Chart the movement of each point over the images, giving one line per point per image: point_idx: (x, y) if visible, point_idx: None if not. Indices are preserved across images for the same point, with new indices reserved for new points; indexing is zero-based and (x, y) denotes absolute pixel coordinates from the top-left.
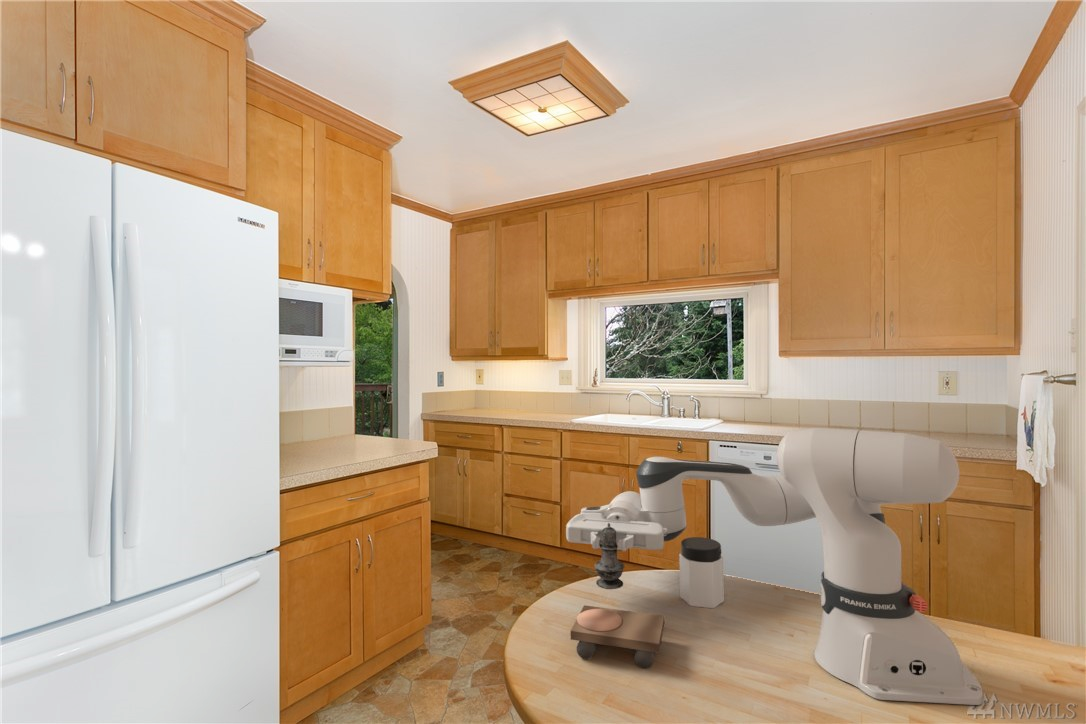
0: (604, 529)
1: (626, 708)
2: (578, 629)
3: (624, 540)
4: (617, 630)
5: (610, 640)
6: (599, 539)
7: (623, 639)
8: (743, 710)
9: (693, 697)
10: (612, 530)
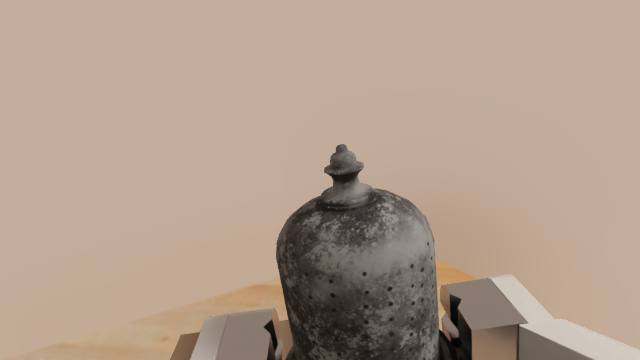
0: (385, 191)
1: (266, 290)
2: None
3: (206, 351)
4: (290, 346)
5: None
6: (456, 296)
7: None
8: (68, 347)
9: (146, 344)
10: (303, 206)
